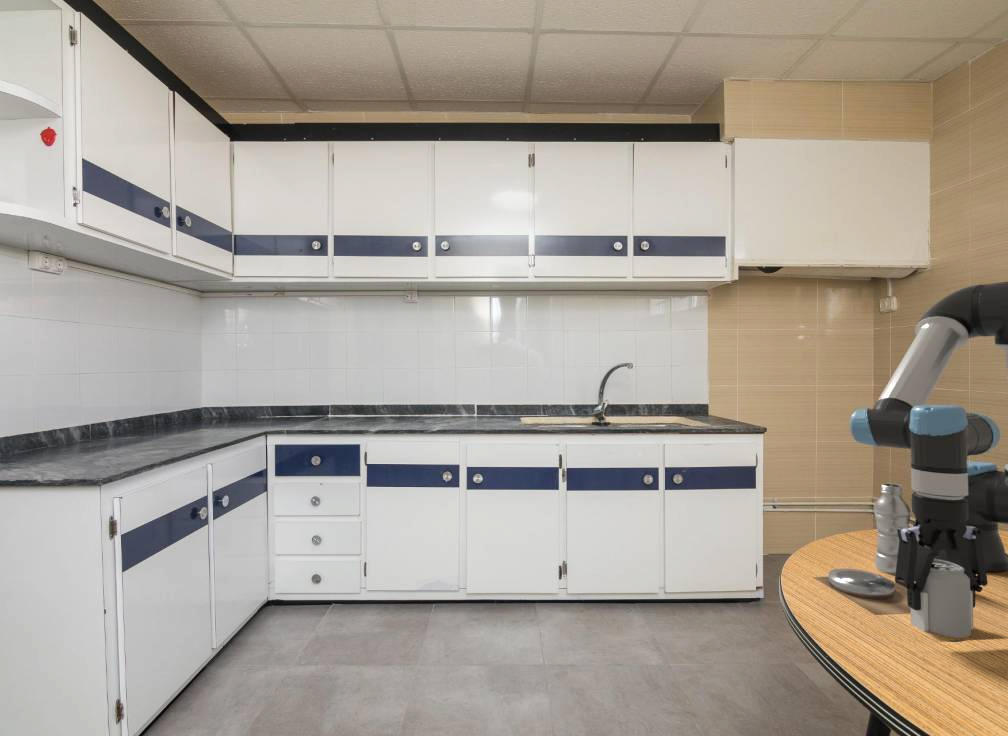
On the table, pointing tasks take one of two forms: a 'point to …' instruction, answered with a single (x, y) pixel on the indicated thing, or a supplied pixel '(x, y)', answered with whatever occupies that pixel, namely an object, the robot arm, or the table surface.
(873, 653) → the table surface
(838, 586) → the grey hollow ring
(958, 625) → the can
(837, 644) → the table surface
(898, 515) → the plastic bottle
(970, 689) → the table surface
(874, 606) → the board
